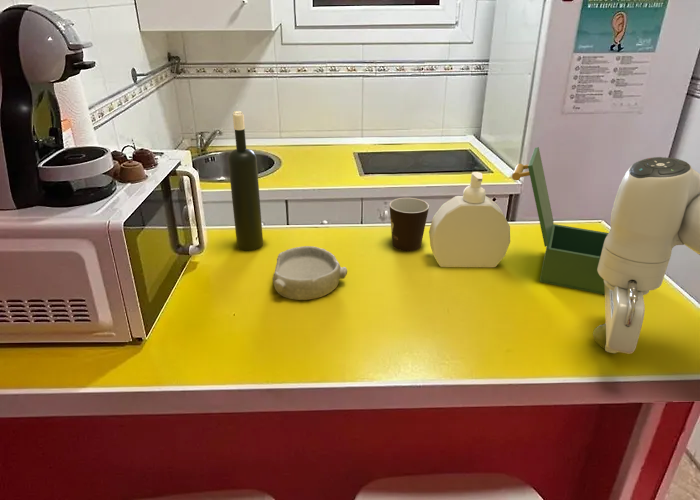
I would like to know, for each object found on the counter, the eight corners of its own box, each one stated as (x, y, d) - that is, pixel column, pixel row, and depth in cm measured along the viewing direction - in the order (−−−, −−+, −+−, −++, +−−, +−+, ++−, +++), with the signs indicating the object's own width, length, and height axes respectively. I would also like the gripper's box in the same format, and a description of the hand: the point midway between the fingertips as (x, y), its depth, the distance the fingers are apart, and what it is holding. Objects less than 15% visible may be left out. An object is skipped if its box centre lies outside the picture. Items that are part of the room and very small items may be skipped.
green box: (622, 270, 108) (632, 236, 105) (625, 300, 98) (636, 264, 94) (544, 255, 114) (551, 223, 110) (539, 283, 103) (546, 248, 100)
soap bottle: (429, 269, 108) (438, 178, 99) (426, 256, 113) (434, 169, 103) (506, 269, 108) (522, 178, 99) (500, 257, 113) (514, 169, 104)
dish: (278, 308, 95) (277, 285, 92) (264, 272, 106) (263, 250, 104) (353, 295, 99) (354, 272, 97) (332, 261, 110) (332, 240, 108)
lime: (586, 343, 86) (592, 318, 84) (608, 336, 88) (614, 311, 85) (607, 359, 82) (615, 334, 80) (630, 352, 84) (637, 326, 82)
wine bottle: (232, 249, 115) (217, 113, 101) (246, 239, 120) (233, 107, 106) (254, 254, 113) (242, 116, 99) (268, 243, 118) (258, 110, 104)
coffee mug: (420, 257, 112) (423, 215, 108) (382, 250, 115) (384, 209, 110) (432, 236, 122) (436, 196, 117) (397, 230, 125) (399, 191, 120)
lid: (538, 146, 104) (515, 151, 107) (532, 165, 94) (506, 170, 96) (553, 221, 110) (531, 224, 112) (549, 246, 99) (524, 249, 102)
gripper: (662, 306, 68) (635, 387, 74) (649, 242, 85) (628, 312, 91) (609, 296, 70) (588, 376, 76) (607, 235, 87) (589, 304, 93)
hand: (610, 340), depth 84 cm, fingers closed on lime, 3 cm apart
